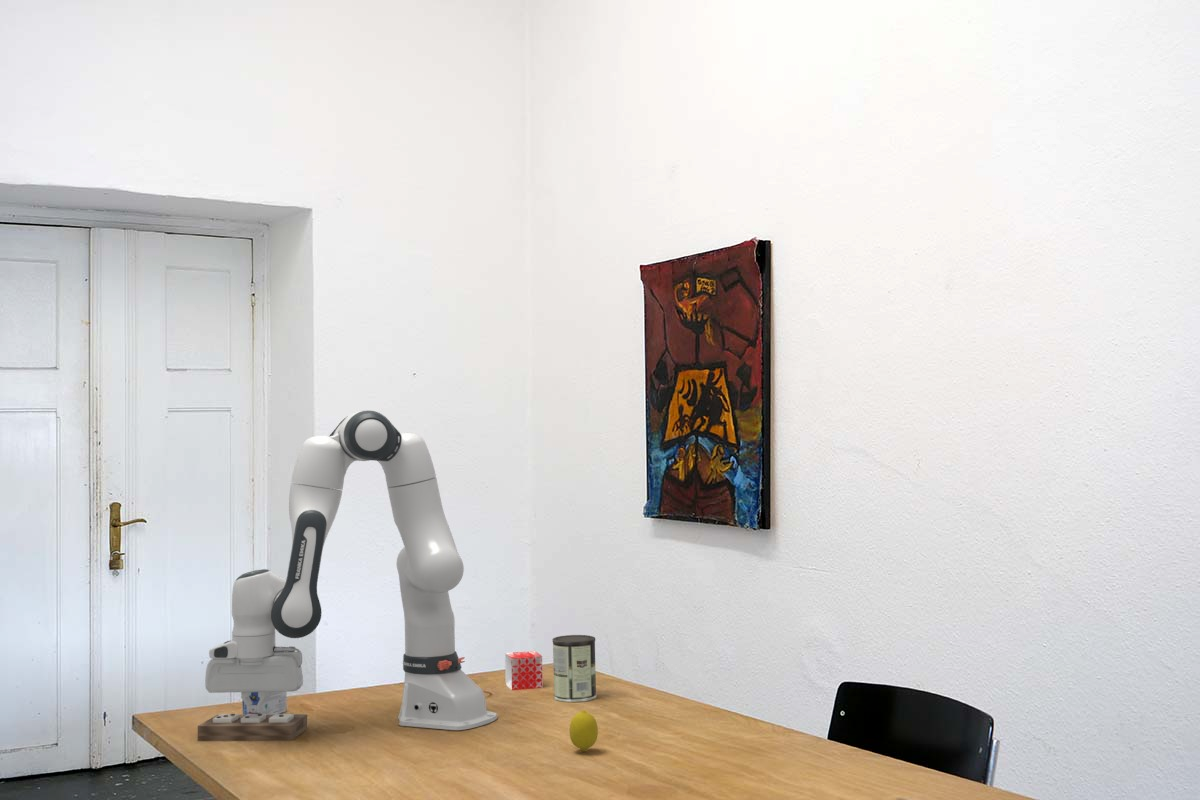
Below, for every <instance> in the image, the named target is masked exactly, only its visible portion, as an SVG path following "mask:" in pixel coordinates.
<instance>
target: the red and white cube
mask: <svg viewBox="0 0 1200 800" xmlns="http://www.w3.org/2000/svg"><path fill="white" fill-rule="evenodd" d="M504 658H505V659H504V664H505V666H504V667H505V669H504V670H505V672H504V673H505V676H504V677H505V685H506V686H507V687H508V688H509V689H510V690H511V691H521V690H534V689H535V690H536V689H543V688H544V679H543V674H544V673H543V655H542V654H540V653H538V651H536V650H529V651H517V652H516V651H515V652H505V653H504Z"/></svg>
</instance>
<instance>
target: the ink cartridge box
mask: <svg viewBox="0 0 1200 800" xmlns="http://www.w3.org/2000/svg"><path fill="white" fill-rule="evenodd" d="M249 697H250V699H251V701H252V703H258V702H259V700H260V698H261V697H258V692H251V695H250V696H249ZM241 702H242V715H247V714H266V715H275V714H284V713H285V712H287V711H288V703H287V702H288V697H287V692H268V696H267V698H266V700H265V701H264V703H263V712H262V713H247V705H246V704H245V703H244V701H243V700H242V701H241Z"/></svg>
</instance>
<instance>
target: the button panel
mask: <svg viewBox="0 0 1200 800" xmlns="http://www.w3.org/2000/svg"><path fill="white" fill-rule="evenodd" d="M293 714H294V713H293ZM218 715H219V714H216V715H214V716H212V717H210V718H209V719H207V720H206V721H204V722H202V723H201V724H199V725H197V741H198V742H201V741H202V742H203V741H204V742H206V741H207V742H209V741H210V742H211V741H212V742H213V741H214V742H215V741H216V742H217V741H218V742H219V741H220V742H221V741H223V742H226V741H228V742H231V741H238V742H239V741H240V742H243V741H251V742H252V741H293V740H295V739H296V738H297V737H298V736H300V735H301V734H302V733H304V732H305V731H306V730H307V729H308V713H307V714H304V713H303V714H301V713H300V714H294V719H293V720H291V721H290V722H288V723H269V718H270V717H272V716H273V715H266V719H265V720H264V721H262V722H261V723H241V718H243V717H244V716H246V715H243V714H239V719H238V720H236V721H234V722H233V723H213V718H215V717H216V716H218Z"/></svg>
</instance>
